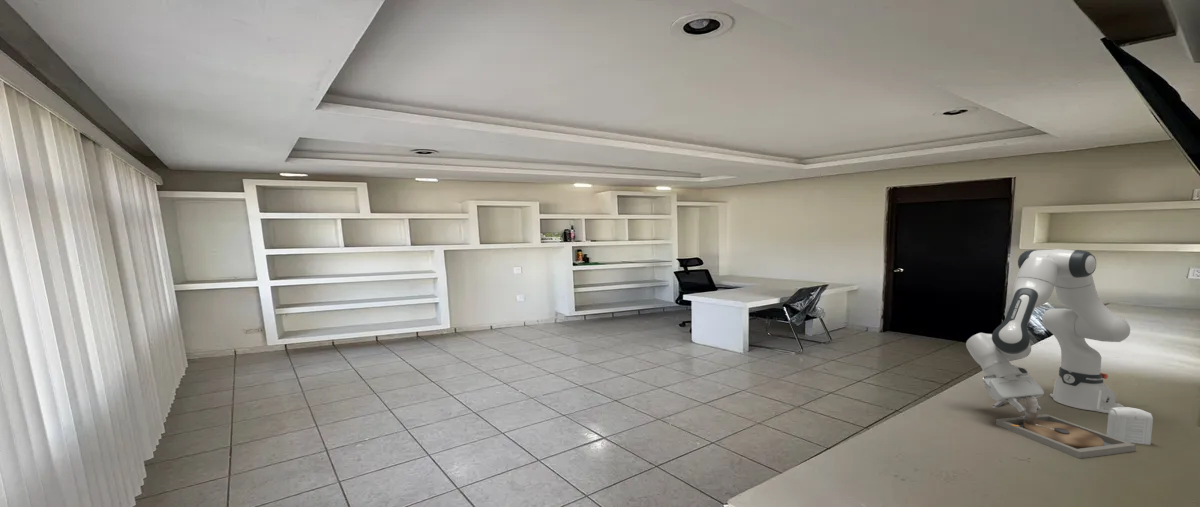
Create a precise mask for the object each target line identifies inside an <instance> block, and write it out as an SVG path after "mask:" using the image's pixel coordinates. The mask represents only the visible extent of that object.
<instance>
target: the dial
mask: <svg viewBox="0 0 1200 507" xmlns="http://www.w3.org/2000/svg"><path fill="white" fill-rule="evenodd" d="M1037 402H1038V398H1032V397H1026V399H1025V406H1024V407H1025V408H1026V411H1024V416H1025V418H1024V423H1023V428H1024V429H1027V430H1030V431H1032V432H1035V433H1037V434H1040V435H1042V436H1045V437H1048V438H1050V439H1053V440H1055V441H1058V442H1060V443H1063V444H1066V445H1068V446H1071V447H1073V448H1076V449H1081V448H1089V447H1097V446H1104V441H1103V440H1102V439H1101V438H1100V437H1098V436H1097V435H1095V434H1093V433H1090V432H1088V431H1085V430H1083V429H1080V428H1076V427H1073V426H1070V425H1066V424H1061V423H1056V422H1051V421H1044V420H1036V416H1037V415H1038V414H1037V412H1038V410H1037Z"/></svg>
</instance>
